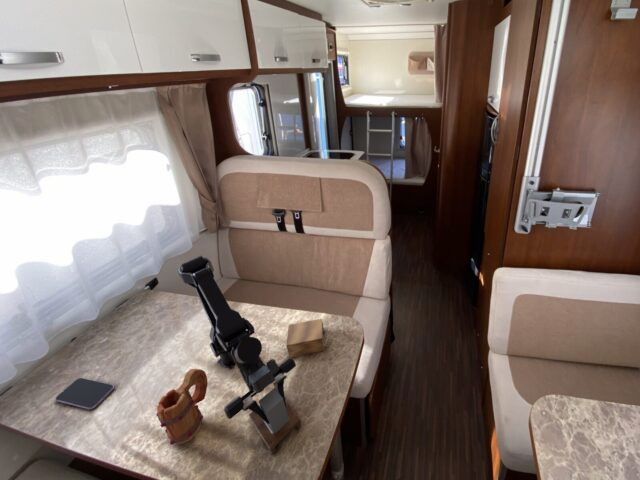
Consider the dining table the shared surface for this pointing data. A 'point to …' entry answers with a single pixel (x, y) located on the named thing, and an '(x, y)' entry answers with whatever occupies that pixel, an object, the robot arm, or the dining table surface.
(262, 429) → the small wooden stand
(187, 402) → the mug
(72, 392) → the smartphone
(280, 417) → the grey upright block
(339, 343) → the dining table surface
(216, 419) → the dining table surface
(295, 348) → the light wood block
